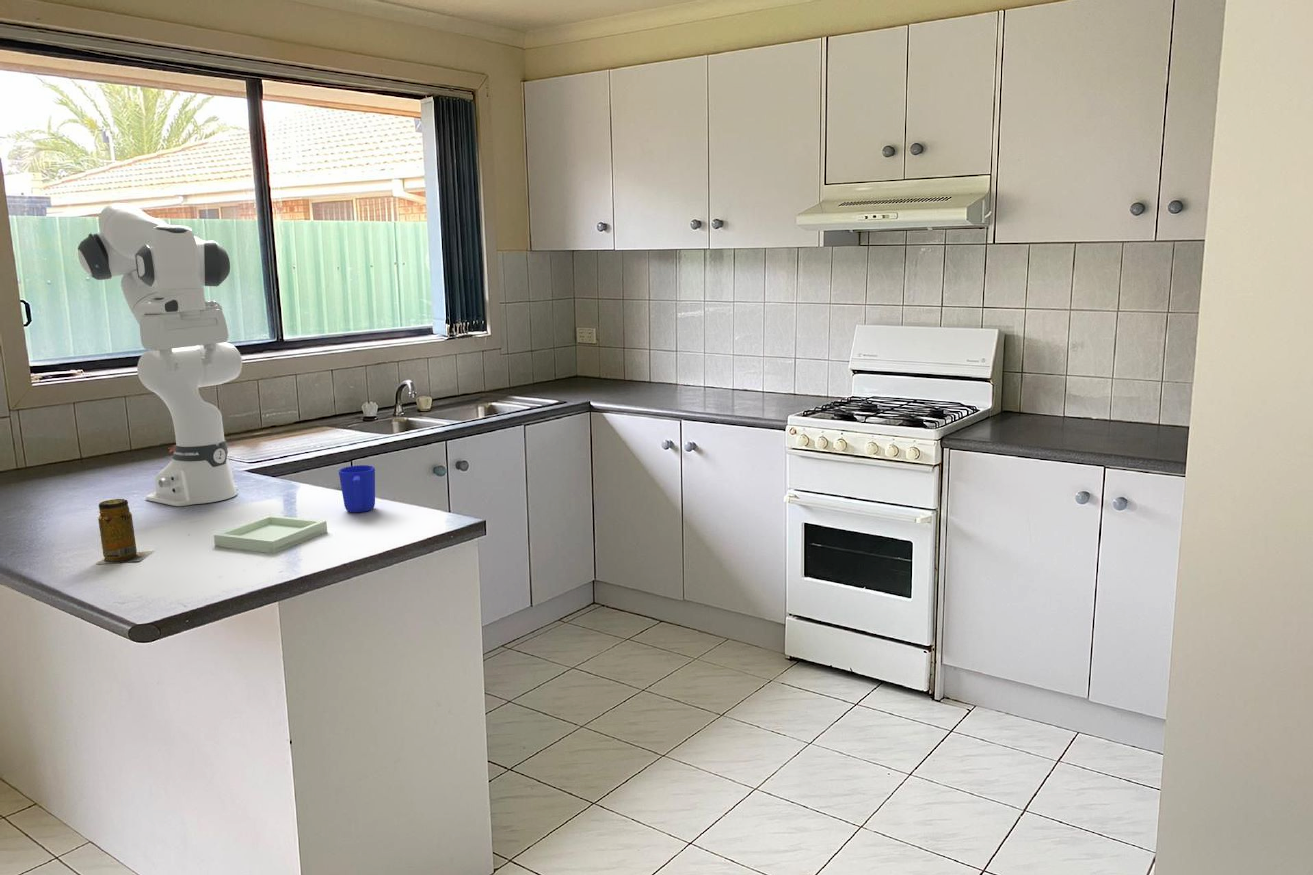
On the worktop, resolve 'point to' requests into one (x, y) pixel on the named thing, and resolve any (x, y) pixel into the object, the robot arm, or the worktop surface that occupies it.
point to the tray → (270, 534)
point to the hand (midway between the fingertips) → (190, 368)
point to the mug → (358, 487)
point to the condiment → (118, 533)
